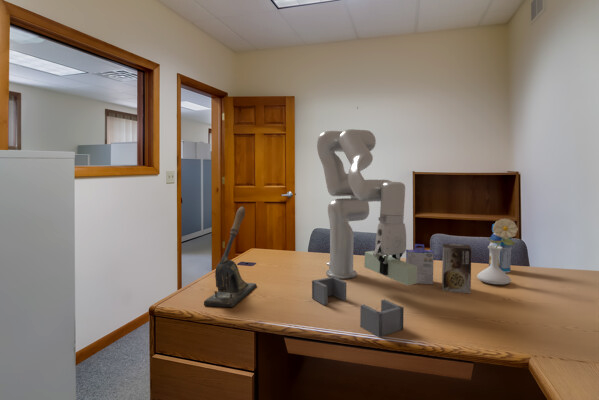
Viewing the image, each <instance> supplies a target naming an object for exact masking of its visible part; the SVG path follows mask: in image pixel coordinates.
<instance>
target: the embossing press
mask: <svg viewBox="0 0 599 400" xmlns="http://www.w3.org/2000/svg"><path fill="white" fill-rule="evenodd" d="M235 213H236V214H235V216H234V217H235V218H234V221H233V223H232V226H231V228H230V232H229V233H230V234H229V235H230V237H229V240H228V241H227V242H228V243H227V244H226V247H225V250H224V253H223V254H222V257H221V259H220V260H219V262H218V264H217V265H216V268H215V271H214V274H215V275H214V277H215V287H216V288H217V290H214V293H213V294H211V296H209V297H208V298H206V299H205V300H204V302H203V305H204V306H212V307H224V308H225V307H231V308H232V307H234V306H236V305H237V304H238V303H239V302H240V301H241V300H242V299H244V298H245V297H246V296H247V295H249V294H250V293H251V292H252V291H253V290H254V289H255V288H256V287H257V283H255V282H246V281H245V280H244V279H243V278H242V276H241V274H240V270H239V267H238V265H237V263H236V262H235V261H233V260H232V259H228V258H229V254H230V251H231V248H232V245H233V242H234V240H235V238H236V237H237V235H238V233H239V230H240V228H241V227H240V226H241V225H242V223H243V220H244V218H245V216H246V208H245V207H244V206H243V205H242V206H240V207H239V208H238V209H237V211H236V212H235Z"/></svg>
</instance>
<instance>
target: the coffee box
mask: <svg viewBox="0 0 599 400" xmlns="http://www.w3.org/2000/svg"><path fill="white" fill-rule="evenodd" d="M441 274H442V275H441V277H442V278H441V279H442V280H441V289H442V291H443V292H451V293H462V294H463V293H464V294H471V293H472V292H471V289H472V288H471V287H472V281H471V280H472V247H471V246H470V245H469V244H462V243H461V244H460V243H459V244H457V243H455V244H454V243H442V272H441Z"/></svg>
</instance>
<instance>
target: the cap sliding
mask: <svg viewBox="0 0 599 400" xmlns="http://www.w3.org/2000/svg"><path fill="white" fill-rule="evenodd" d="M331 296H333V297H335V298H337V299H339V300H341V301H347V282H346V281H345V280H342V279H339V278H336V277H330V276H328V277H323V278H319V279H313V280H311V298H312V300H315V301H316V302H318V303H320V304H321V305H323V306H326V305H328V297H331Z"/></svg>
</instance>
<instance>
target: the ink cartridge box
mask: <svg viewBox="0 0 599 400" xmlns="http://www.w3.org/2000/svg"><path fill="white" fill-rule="evenodd" d="M434 256H435V255H434V251H433V250H431V249H425V244H424V243H423V244H422V243H421V244H420V243H414V249H406V251H405V262H407V263H409V264H412V265H415V266H417V281H416V284H423V285H433V284H434Z"/></svg>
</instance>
